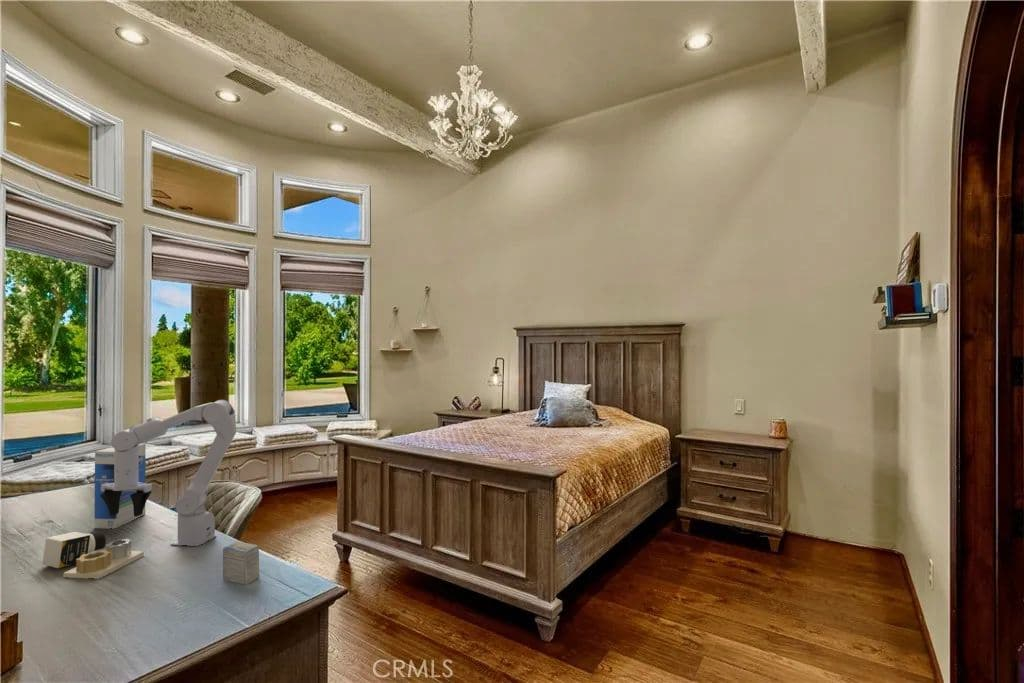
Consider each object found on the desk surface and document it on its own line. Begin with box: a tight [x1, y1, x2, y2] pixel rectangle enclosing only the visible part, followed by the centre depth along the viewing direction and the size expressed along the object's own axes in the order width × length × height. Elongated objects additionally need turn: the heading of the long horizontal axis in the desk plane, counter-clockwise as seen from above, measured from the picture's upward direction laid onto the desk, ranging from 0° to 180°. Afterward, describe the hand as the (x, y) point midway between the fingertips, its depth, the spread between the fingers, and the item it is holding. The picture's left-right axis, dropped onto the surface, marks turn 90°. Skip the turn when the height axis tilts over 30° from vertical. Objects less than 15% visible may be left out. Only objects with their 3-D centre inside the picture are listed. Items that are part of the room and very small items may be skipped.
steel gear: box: [105, 538, 132, 560], centre depth 137 cm, size 6×6×4 cm
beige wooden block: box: [222, 541, 260, 586], centre depth 126 cm, size 8×4×9 cm, turn 71°
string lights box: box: [93, 442, 147, 530], centre depth 167 cm, size 13×8×26 cm, turn 178°
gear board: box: [63, 538, 145, 580], centre depth 134 cm, size 10×14×6 cm
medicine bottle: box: [41, 530, 107, 569], centre depth 137 cm, size 7×7×12 cm
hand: (126, 515), depth 145 cm, fingers open, 7 cm apart
